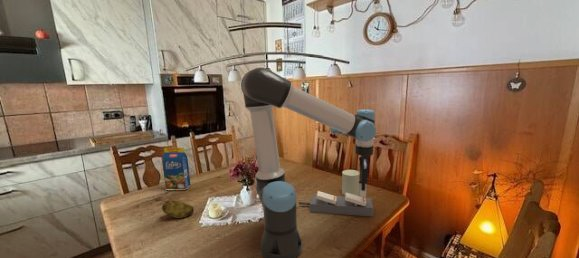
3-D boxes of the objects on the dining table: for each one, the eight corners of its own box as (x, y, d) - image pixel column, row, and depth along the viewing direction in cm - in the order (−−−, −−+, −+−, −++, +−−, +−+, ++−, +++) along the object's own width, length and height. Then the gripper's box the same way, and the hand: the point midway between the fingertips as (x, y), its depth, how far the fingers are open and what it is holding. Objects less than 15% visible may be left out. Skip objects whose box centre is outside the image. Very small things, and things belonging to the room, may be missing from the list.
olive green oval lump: (186, 222, 110) (184, 205, 109) (160, 220, 113) (158, 204, 111) (196, 212, 119) (194, 196, 117) (171, 211, 121) (169, 195, 119)
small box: (345, 200, 112) (346, 197, 111) (345, 195, 117) (346, 192, 116) (365, 206, 110) (366, 203, 110) (364, 201, 115) (365, 197, 115)
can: (359, 197, 129) (360, 175, 127) (341, 196, 131) (341, 174, 129) (358, 189, 138) (359, 169, 136) (341, 188, 140) (341, 168, 138)
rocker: (316, 198, 114) (317, 195, 114) (317, 193, 119) (318, 190, 119) (335, 204, 113) (336, 201, 113) (335, 199, 118) (336, 196, 118)
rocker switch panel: (297, 211, 117) (297, 200, 116) (300, 201, 126) (300, 191, 126) (373, 216, 110) (373, 205, 109) (370, 205, 120) (370, 195, 119)
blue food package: (171, 186, 151) (166, 146, 146) (190, 186, 150) (186, 146, 145) (165, 191, 145) (160, 149, 140) (185, 191, 144) (181, 149, 139)
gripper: (375, 149, 101) (373, 203, 105) (371, 142, 114) (369, 190, 118) (356, 148, 103) (354, 202, 107) (354, 141, 115) (353, 189, 119)
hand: (362, 196), depth 112 cm, fingers closed
